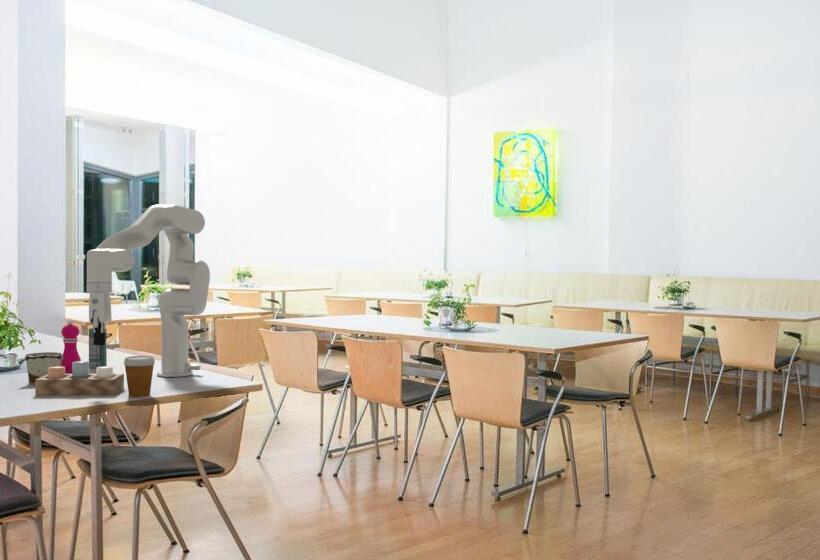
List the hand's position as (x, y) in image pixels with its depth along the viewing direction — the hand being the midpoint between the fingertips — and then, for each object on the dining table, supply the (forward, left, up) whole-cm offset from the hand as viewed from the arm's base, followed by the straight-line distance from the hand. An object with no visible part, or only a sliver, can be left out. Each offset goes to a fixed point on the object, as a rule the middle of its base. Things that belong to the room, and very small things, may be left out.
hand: (99, 344), depth 265 cm
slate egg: (+6, 0, -12) cm, 13 cm away
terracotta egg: (+13, 0, -14) cm, 19 cm away
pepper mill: (+20, -35, -15) cm, 43 cm away
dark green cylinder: (+16, -55, -15) cm, 59 cm away
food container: (+24, -20, -15) cm, 35 cm away
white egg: (-2, 0, -14) cm, 14 cm away
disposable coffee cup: (-14, +7, -15) cm, 22 cm away
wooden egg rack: (+6, 0, -15) cm, 16 cm away
